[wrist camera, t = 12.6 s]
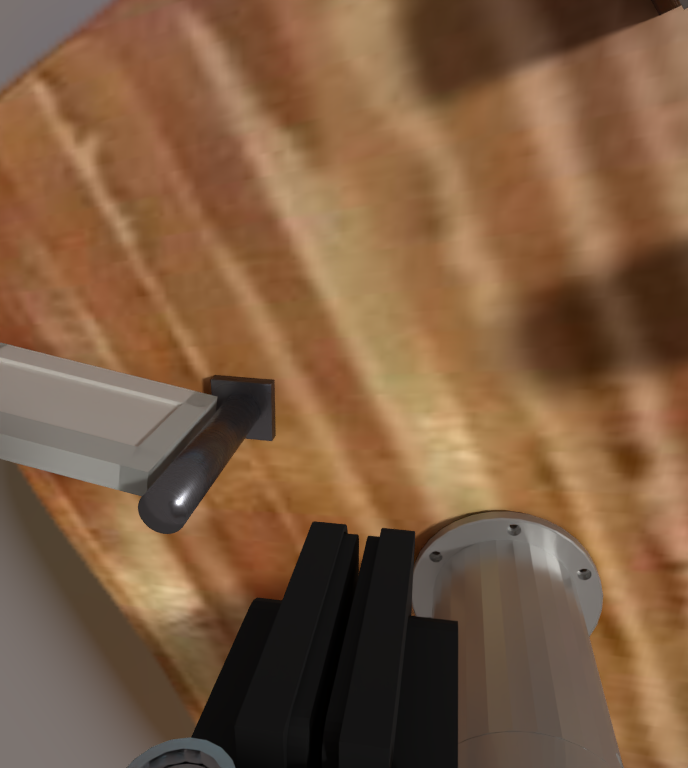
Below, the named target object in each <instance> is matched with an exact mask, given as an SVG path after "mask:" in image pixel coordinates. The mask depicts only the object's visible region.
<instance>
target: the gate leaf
mask: <svg viewBox="0 0 688 768" xmlns="http://www.w3.org/2000/svg"><path fill="white" fill-rule="evenodd" d="M216 405H217V396H213V395H209V394H205V393H201V392H197V391H193V390H189V389H185V388H181V387H177V386H173V385H169V384H165V383H161V382H157V381H153V380H149V379H145V378H140V377H136V376H132V375H128V374H124V373H120V372H116V371H112V370H108V369H104V368H100V367H96V366H92V365H88V364H84V363H80V362H76V361H72V360H68V359H64V358H60V357H56V356H52V355H48V354H44V353H40V352H36V351H32V350H28V349H24V348H20V347H16V346H12V345H8V344H4V343H0V459H4V460H7V461H11V462H14V463H18V464H22V465H26V466H30V467H33V468H37V469H41V470H45V471H48V472H52V473H56V474H60V475H64V476H67V477H71V478H75V479H79V480H82V481H86V482H90V483H94V484H98V485H101V486H105V487H109V488H113V489H116V490H120V491H124V492H128V493H132V494H135V495H139V496H143V495H144V494H145V493H146V491H147V490H148V489H149V488H150V487H151V486H152V485H153V483H154V482H155V481H156V480H157V479H158V478H159V477H160V475H161V474H162V473H163V472H164V471H165V470H166V469H167V467H168V466H169V465H170V464H171V463H172V462H173V461H174V459H175V458H176V457H177V456H178V455H179V454H180V452H181V451H182V450H183V449H184V448H185V447H186V446H187V444H188V443H189V442H190V441H191V440H192V439H193V438H194V436H195V435H196V434H197V433H198V432H199V431H200V430H201V428H202V427H203V426H204V425H205V424H206V423H207V422H208V420H209V419H210V418H211V417H212V416H213V415H214V414H215V412H216Z"/></svg>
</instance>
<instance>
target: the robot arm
mask: <svg viewBox="0 0 688 768" xmlns="http://www.w3.org/2000/svg"><path fill="white" fill-rule="evenodd" d="M511 524H515V525H511ZM414 549H415V531H407V530H397V529H387V528H382V529H381V533H380V537H376V536H368V538H367V541H366V546H365V550H364V555H363V559H362V563H361V568H360V572H359V536H358V535H356V534H348V533H347V526H346V525H345V524H335V523H325V522H315V521H314V522H313V523H312V525H311V527H310V530H309V532H308V535H307V537H306V540H305V543H304V545H303V548H302V551H301V553H300V556H299V558H298V561H297V564H296V566H295V569H294V571H293V574H292V577H291V579H290V582H289V584H288V587H287V590H286V592H285V595H284V598H283V600H273V599H265V598H256V599H254V600H253V602H252V604H251V605H250V607H249V609H248V612H247V614H246V616H245V618H244V621H243V623H242V625H241V627H240V630H239V632H238V634H237V636H236V638H235V641H234V643H233V645H232V647H231V650H230V652H229V654H228V656H227V659H226V661H225V663H224V665H223V668H222V670H221V672H220V674H219V676H218V679H217V681H216V683H215V685H214V688H213V690H212V692H211V694H210V697H209V699H208V701H207V703H206V706H205V708H204V710H203V712H202V714H201V717H200V719H199V721H198V723H197V726H196V728H195V730H194V733H193V735H192V737H191V738H182V739H174V740H169V741H166V742H164V743H161V744H159V745H156V746H154V747H151V748H150V749H148V750H147V751H145V752H144V753H143V754H141V755H140V756H138V757H137V758H135V759H134V760H133V761H132V762H131V764H130V765H129V766H128V767H127V768H623V764H622V760H621V756H620V752H619V749H618V745H617V741H616V737H615V733H614V730H613V726H612V722H611V718H610V714H609V711H608V707H607V703H606V699H605V695H604V692H603V688H602V684H601V680H600V676H599V672H598V669H597V665H596V661H595V657H594V653H593V650H592V646H591V642H590V638H589V637H590V635H591V633H592V632H593V630H594V629H595V627H596V625H597V623H598V620H599V617H600V614H601V611H602V602H603V593H602V586H601V580H600V577H599V574H598V571H597V568H596V566H595V564H594V562H593V560H592V558H591V557H590V555H589V553H588V551H587V550H586V549H585V548H584V547H583V546H582V545H581V543H580V542H579V541H578V540H577V539H576V538H575V537H573V536H572V535H571V534H569V533H568V532H567V531H566V530H564V529H563V528H561V527H559V526H557V525H555V524H553V523H551V522H549V521H548V520H545V519H542V518H539V517H536V516H533V515H529V514H524V513H517V512H510V511H501V512H486V513H480V514H475V515H471V516H468V517H465V518H462V519H460V520H457V521H455V522H453V523H451V524H450V525H448V526H446V527H444V528H443V529H441V530H440V531H439V532H438V533H436V534H435V535H434V536H433V537H432V538H431V539H429V541H428V542H427V543H426V545H425V546H424V547H423V549H422V550H421V551H420V553H419V555H418V557H417V560H416V562H415V564H414ZM358 574H359V576H358ZM412 607H413V610H414V612H415V615H416V616H411V609H412Z"/></svg>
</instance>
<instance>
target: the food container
mask: <svg viewBox="0 0 688 768" xmlns="http://www.w3.org/2000/svg"><path fill="white" fill-rule="evenodd" d="M652 2H653V4H654V6H655V8H656V10H657V11H658V13H659V15H662V14H664V13H666V12H668V11H670V10H672V9H674V8H676V7H679V6H681V5H682V7H683V9H686V8H688V0H652Z"/></svg>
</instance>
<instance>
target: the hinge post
mask: <svg viewBox="0 0 688 768" xmlns="http://www.w3.org/2000/svg"><path fill="white" fill-rule="evenodd" d="M211 392H212V395H213V396H217V405H216V412H215V414H214V415H213V416H212V417H211V418H210V419H209V420H208V422H207V423H206V424H205V425H204V426H203V427H202V428H201V430H200V431H199V432H198V433H197V434H196V435H195V436H194V438H193V439H192V440H191V441H190V442H189V443H188V444H187V446H186V447H185V448H184V449H183V450H182V451H181V452H180V454H179V455H178V456H177V457H176V458H175V459H174V461H173V462H172V463H171V464H170V465H169V466H168V467H167V469H166V470H165V471H164V472H163V473H162V474H161V475H160V477H159V478H158V479H157V480H156V481H155V482H154V483H153V485H152V486H151V487H150V488H149V489H148V490H147V491H146V493H145V494H144V495H143V496H142V497H141V499H140V501H139V504H138V511H139V515H140V517H141V519H142V520H143V522H144V523H145V524H146V525H147V526H148V527H149V528H151V529H152V530H154V531H156V532H159V533H163V534H171V533H175V532H177V531H179V530H180V529H181V528H182V527H183V526H184V524H185V523H186V521H187V520H188V519H189V517H190V516H191V514H192V513H193V511H194V510H195V509H196V507H197V506H198V504H199V503H200V501H201V500H202V499H203V497H204V496H205V494H206V493H207V492H208V490H209V489H210V487H211V486H212V484H213V483H214V482H215V480H216V479H217V477H218V476H219V474H220V473H221V472H222V470H223V469H224V467H225V466H226V464H227V463H228V462H229V460H230V459H231V457H232V456H233V455H234V453H235V452H236V450H237V449H238V447H239V446H240V445H241V443H242V442H243V440H244V439H245V438H247V439H257V440H267V441H273V439H274V437H275V386H274V380H269V379H257V378H245V377H232V376H220V375H215V376H214V377H213V378H212V379H211Z"/></svg>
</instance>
